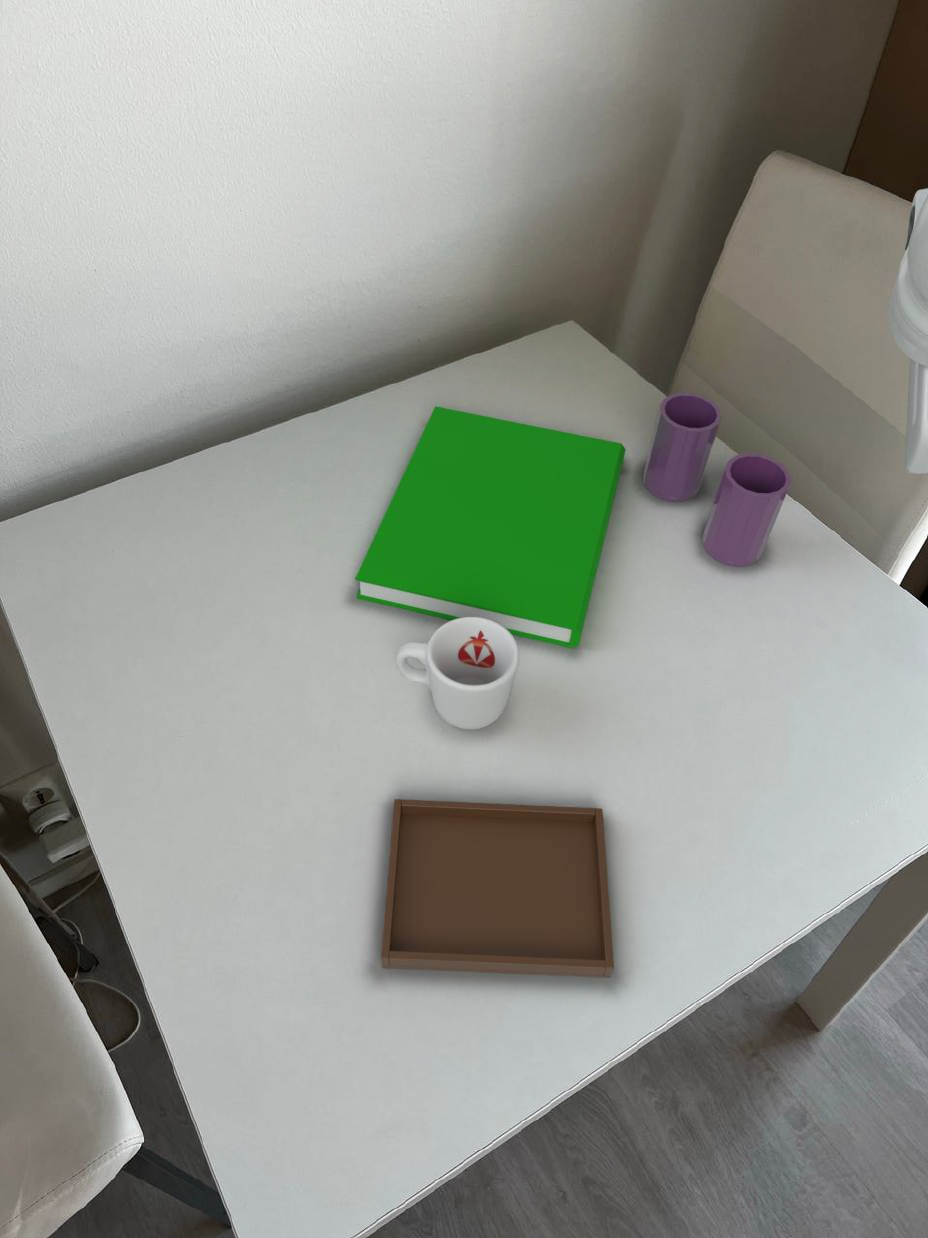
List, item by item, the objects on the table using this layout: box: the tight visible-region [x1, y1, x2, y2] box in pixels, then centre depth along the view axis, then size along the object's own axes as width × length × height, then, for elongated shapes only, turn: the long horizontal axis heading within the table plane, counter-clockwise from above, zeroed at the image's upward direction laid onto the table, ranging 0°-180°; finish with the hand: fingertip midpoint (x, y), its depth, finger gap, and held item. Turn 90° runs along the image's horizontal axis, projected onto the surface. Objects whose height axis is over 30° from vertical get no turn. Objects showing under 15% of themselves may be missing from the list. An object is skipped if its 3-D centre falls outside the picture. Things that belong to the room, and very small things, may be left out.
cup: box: [395, 617, 521, 731], centre depth 84 cm, size 11×8×8 cm
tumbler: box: [642, 392, 722, 503], centre depth 104 cm, size 6×6×10 cm
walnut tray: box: [380, 798, 615, 979], centre depth 75 cm, size 17×13×2 cm
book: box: [355, 405, 626, 649], centre depth 101 cm, size 22×28×3 cm
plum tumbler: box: [701, 452, 792, 568], centre depth 98 cm, size 6×6×10 cm
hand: (923, 374), depth 79 cm, fingers open, 8 cm apart
